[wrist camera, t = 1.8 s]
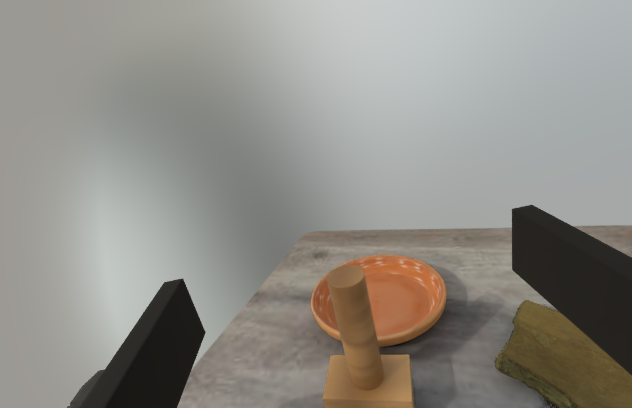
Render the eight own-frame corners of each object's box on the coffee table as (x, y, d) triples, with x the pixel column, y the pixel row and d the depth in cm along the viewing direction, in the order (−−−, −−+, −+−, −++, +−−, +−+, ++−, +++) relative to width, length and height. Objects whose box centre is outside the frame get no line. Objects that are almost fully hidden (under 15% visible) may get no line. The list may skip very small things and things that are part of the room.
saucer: (318, 280, 49) (314, 263, 48) (428, 263, 47) (425, 245, 46) (311, 370, 34) (305, 348, 33) (470, 351, 32) (469, 327, 31)
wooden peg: (414, 387, 30) (393, 255, 25) (418, 437, 26) (394, 292, 21) (339, 385, 32) (306, 262, 27) (332, 431, 28) (292, 297, 23)
